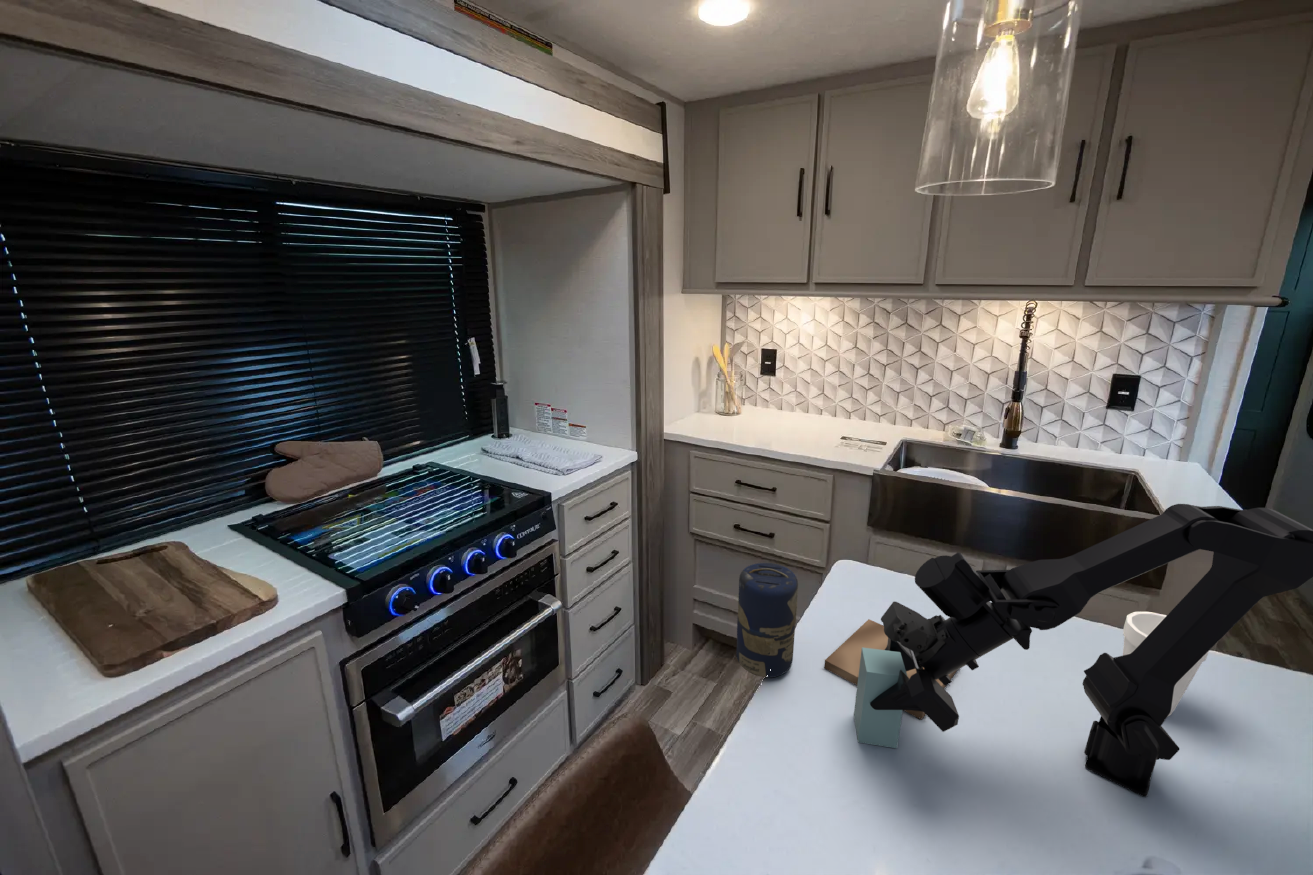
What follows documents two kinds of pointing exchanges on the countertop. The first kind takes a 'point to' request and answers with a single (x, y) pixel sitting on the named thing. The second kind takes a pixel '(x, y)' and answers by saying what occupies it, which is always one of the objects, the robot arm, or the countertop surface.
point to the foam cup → (1134, 635)
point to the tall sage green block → (873, 680)
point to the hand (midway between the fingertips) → (869, 692)
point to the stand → (849, 655)
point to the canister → (766, 619)
